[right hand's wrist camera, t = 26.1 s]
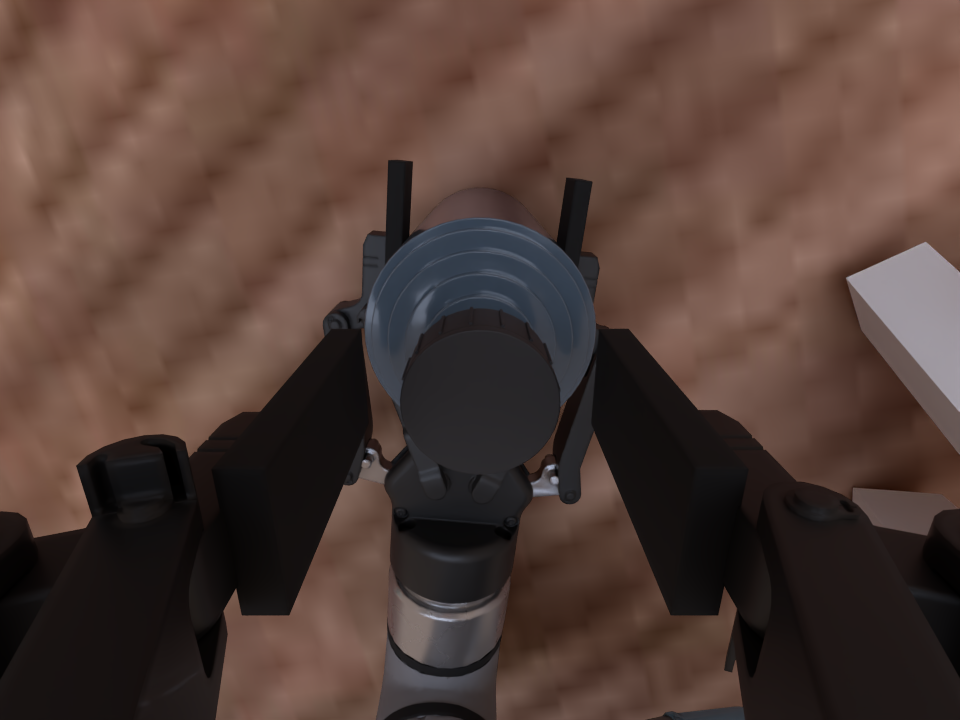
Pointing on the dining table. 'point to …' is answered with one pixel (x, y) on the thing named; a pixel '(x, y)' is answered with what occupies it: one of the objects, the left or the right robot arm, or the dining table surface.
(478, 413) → the cap
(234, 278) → the dining table surface
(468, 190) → the bottle
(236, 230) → the dining table surface
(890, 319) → the pile of blocks
